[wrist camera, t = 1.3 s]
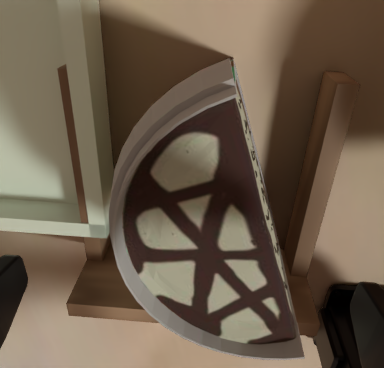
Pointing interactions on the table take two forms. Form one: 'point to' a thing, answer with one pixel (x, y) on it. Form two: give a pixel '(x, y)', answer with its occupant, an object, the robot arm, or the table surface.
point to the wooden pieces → (298, 229)
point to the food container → (202, 223)
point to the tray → (53, 118)
